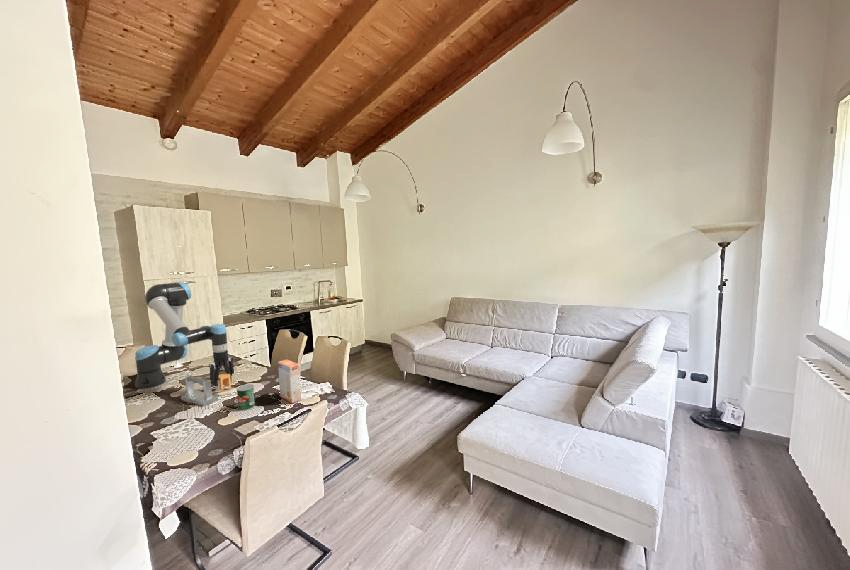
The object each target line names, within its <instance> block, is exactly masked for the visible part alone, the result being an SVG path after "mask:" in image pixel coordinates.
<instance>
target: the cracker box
mask: <svg viewBox="0 0 850 570" xmlns="http://www.w3.org/2000/svg"><path fill="white" fill-rule="evenodd" d="M277 367H278V382H279V383H278V385H279V397H280V398H282V399H284V400H286V401H287V402H288V403H290V404H295V403H297V402H300V401H302V394H301V390H302V389H301V375H300V364H299V363H296V362H295V361H292V360H290V359H283V360H280V361H278V362H277Z"/></svg>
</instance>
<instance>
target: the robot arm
mask: <svg viewBox="0 0 850 570" xmlns="http://www.w3.org/2000/svg"><path fill="white" fill-rule="evenodd" d="M148 288H149V287H148ZM191 298H192V290H191V288H190V286H189V285H188V284H187V283H186V282H184V281H183V282H180V281H179V282H178V281H176V282H169V283H160V284H159V283H158V284H157V283H156V284H154V285H152V286H151V287H150V288H149V289H148V290H147V291H146V292H145V296H144V300H145V303H146V306H147V307H148V308H149V309H150V310H153V311H154V312H155V313H156V315H157V316H158V317H159V319H161V321H162V323H163V324H164V325H165V333H164V334H165V335H164V340H162V342H161V345H157V344H152V345H147V346H144V347H141V348H139V349H138V350H136V352H135V353H134V354H135V356H134V357H135V358H134V359H135V366H136V374H137V376H136V378H135V381H134V382H135V383H134V386H135V388H136V389H141V390H142V389H149V388H153V387H157V386H160V385H162V384H164V383H166V381H167V379H166V376H165V374H164V372H163V371H162V367H161V366H162V365H165V364H168V363H172V362H176V361H177V360H178V361H179V360H182V359H184V358H186V356H187V354H188V351H189V350H188V345H191V344H194V343H199V342H203V341H209V340H211V348H212V356H213V357H212V358H213V362H212V363H208V367H209V380H211V382H213V386H214V387H215V390H216V391H220V382H219V380H218V377H219V372H220V369H221V367H223V366H224V369H225V371H226V373H227V374H230V379H231V376H232V377H233V374H234V373H235V367H234V357H229V350H228V348H229V347H228V336H227V327H226V324H224V323H216V324H212V325H211V326H210V325H202V326H199V328H193V329H189V328H188V326H187V325H186V324H185V323H184V322H183V316H184V307H185V306H186V305H187V301H188V300H190V299H191ZM228 366H229V367H228ZM231 380H232V379H231Z"/></svg>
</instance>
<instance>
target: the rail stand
mask: <svg viewBox="0 0 850 570" xmlns="http://www.w3.org/2000/svg"><path fill="white" fill-rule="evenodd" d="M184 383H185V391H186V393H184V394H182V395H180V400H181V401H184V402H188V403H191V404H195V405H197V406H201V407H205V406H208V405H210V404H213V403H216V402H217V401H219V396H218V395H214V394H212V391H213V390H212V381H211V380H210V379H205V378H201V377H197V376H193V375H187V376H185V377H184ZM194 383H196V384H200V385H202V388H203V391H200V390H198V389H197V390H196V389H195V388H194Z"/></svg>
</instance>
